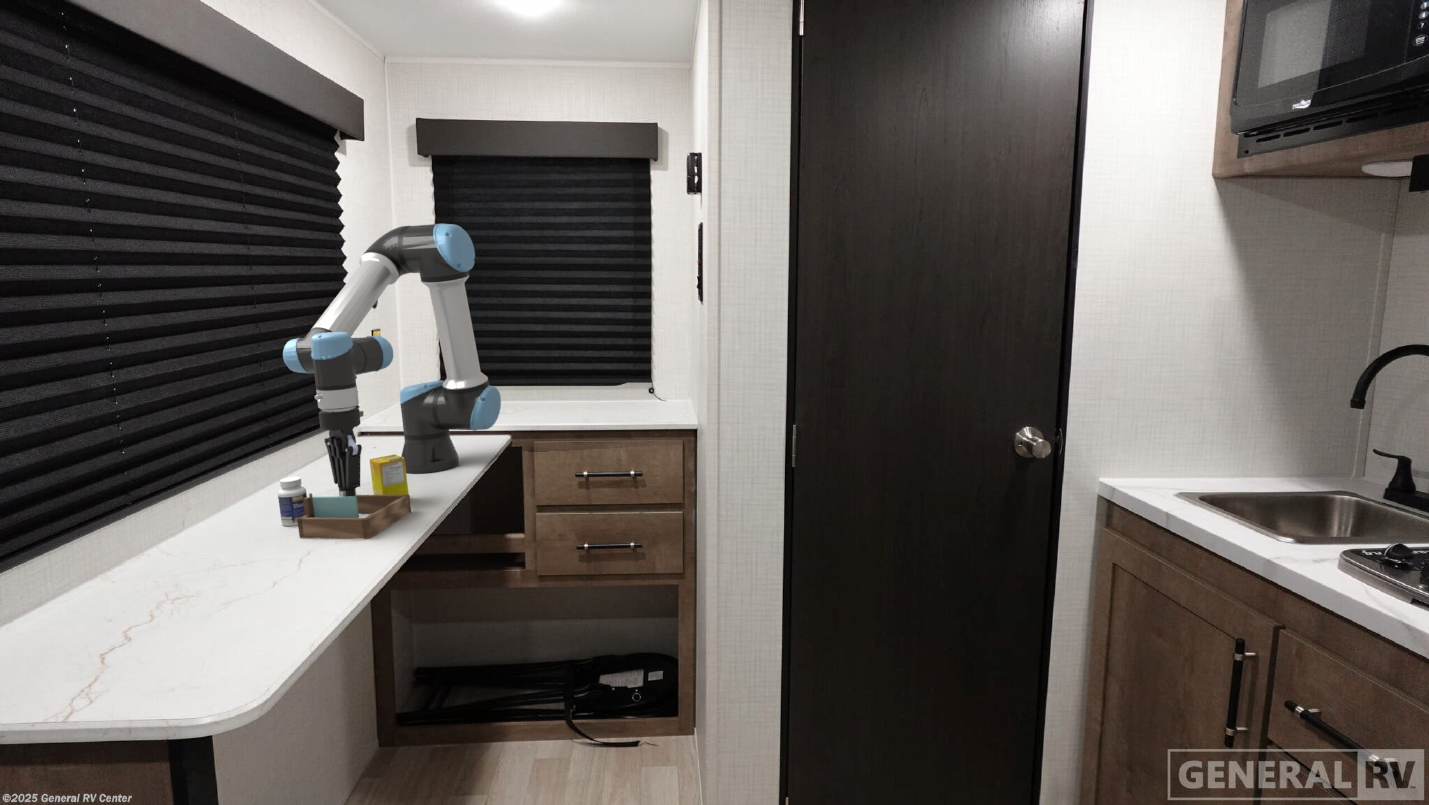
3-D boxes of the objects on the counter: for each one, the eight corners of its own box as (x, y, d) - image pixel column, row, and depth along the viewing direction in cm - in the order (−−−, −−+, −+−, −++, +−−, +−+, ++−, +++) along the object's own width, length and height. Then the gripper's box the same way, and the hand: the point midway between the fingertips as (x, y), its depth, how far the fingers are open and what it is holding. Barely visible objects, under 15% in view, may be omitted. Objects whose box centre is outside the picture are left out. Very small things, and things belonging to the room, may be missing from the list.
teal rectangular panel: (360, 528, 162) (356, 496, 160) (358, 530, 161) (354, 497, 160) (318, 529, 162) (314, 496, 161) (316, 530, 162) (312, 497, 161)
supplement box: (399, 498, 184) (394, 453, 182) (410, 503, 180) (405, 457, 178) (373, 504, 180) (368, 458, 178) (384, 509, 175) (379, 462, 174)
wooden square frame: (348, 511, 175) (344, 477, 173) (411, 512, 173) (407, 477, 171) (299, 538, 158) (294, 500, 157) (368, 538, 156) (364, 500, 155)
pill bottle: (297, 527, 165) (292, 482, 164) (276, 526, 166) (270, 482, 165) (315, 519, 170) (310, 476, 169) (294, 518, 171) (288, 475, 170)
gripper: (307, 407, 161) (320, 516, 165) (332, 415, 152) (345, 529, 157) (344, 402, 166) (356, 507, 171) (370, 409, 158) (382, 520, 162)
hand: (351, 518), depth 164 cm, fingers closed
